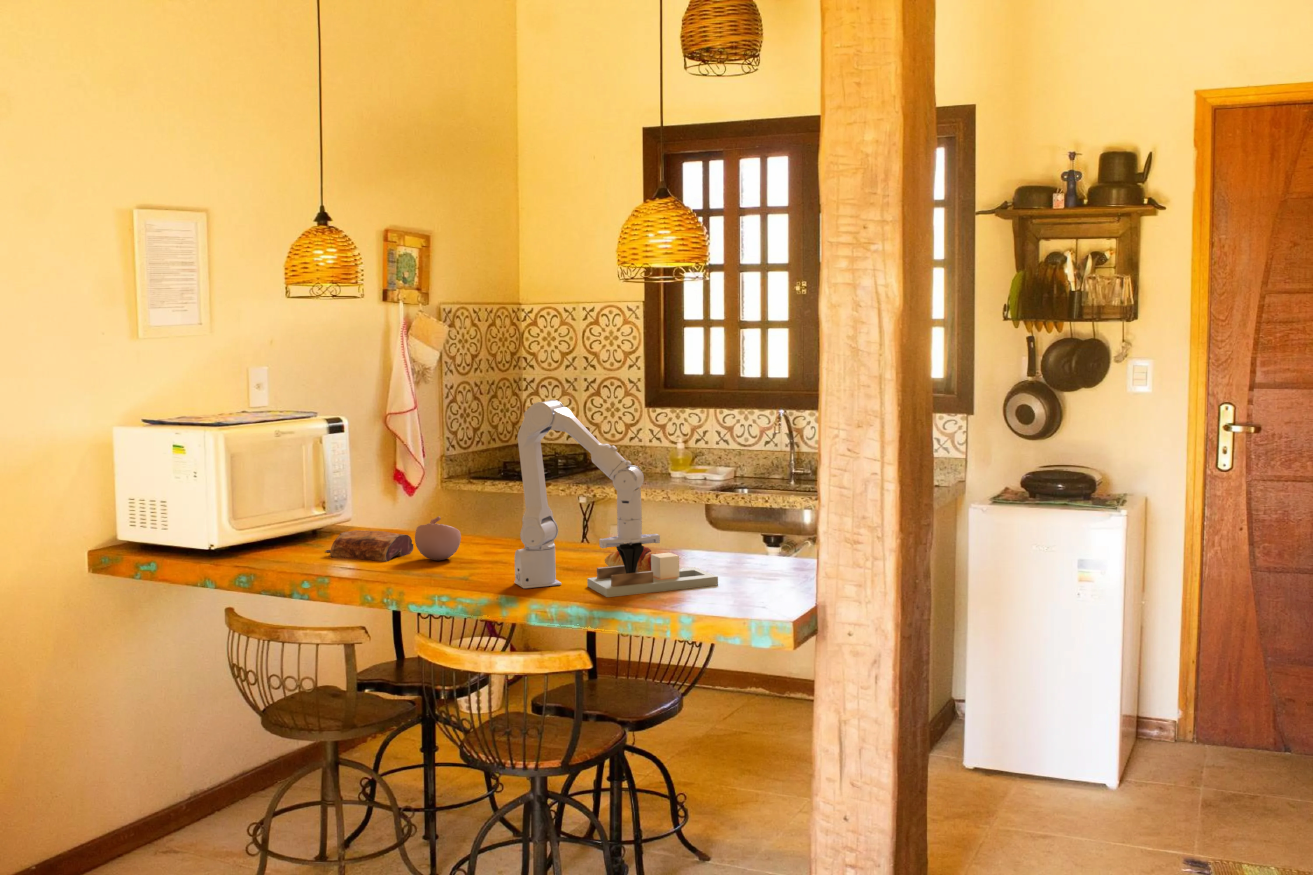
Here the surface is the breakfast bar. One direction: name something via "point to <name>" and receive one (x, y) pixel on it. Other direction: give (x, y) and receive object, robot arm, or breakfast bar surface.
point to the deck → (656, 583)
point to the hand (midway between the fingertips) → (630, 575)
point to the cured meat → (371, 545)
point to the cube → (665, 565)
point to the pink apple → (437, 540)
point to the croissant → (643, 562)
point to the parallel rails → (624, 576)
